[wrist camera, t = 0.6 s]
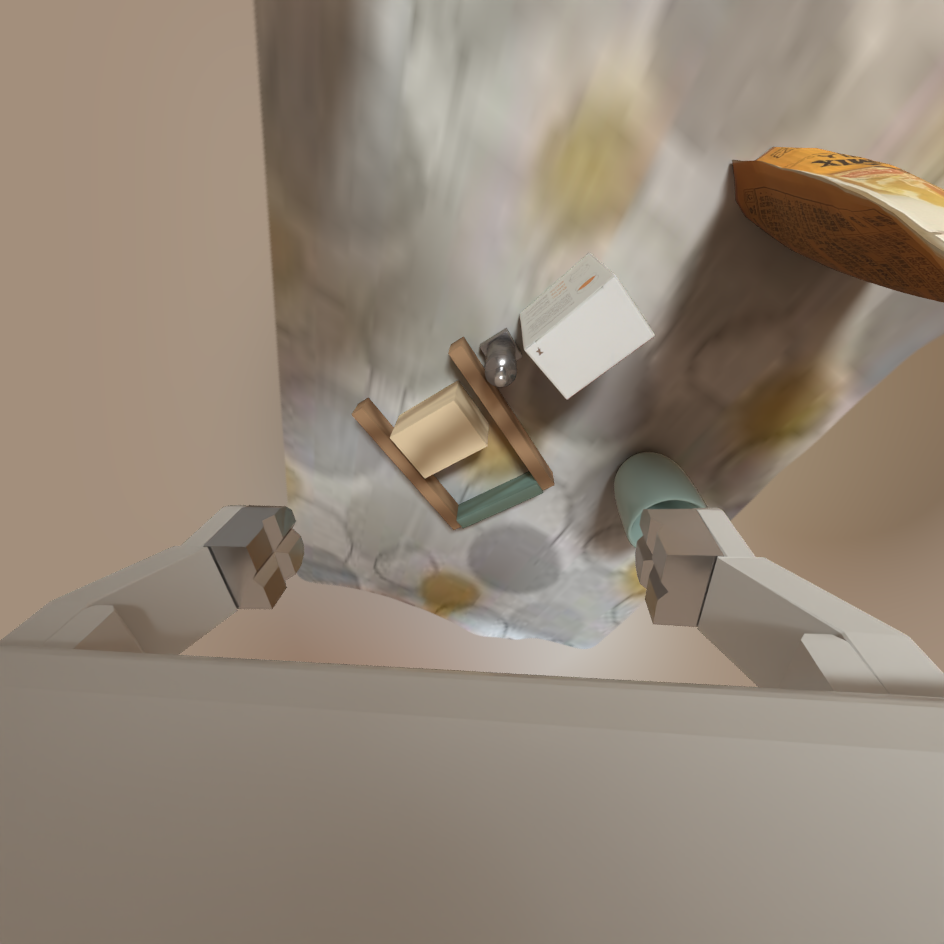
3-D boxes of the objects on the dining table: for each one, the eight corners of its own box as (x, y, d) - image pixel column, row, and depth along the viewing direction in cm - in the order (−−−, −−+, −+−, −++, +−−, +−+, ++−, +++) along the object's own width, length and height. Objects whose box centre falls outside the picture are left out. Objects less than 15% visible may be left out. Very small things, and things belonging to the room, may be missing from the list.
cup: (595, 484, 51) (612, 543, 43) (631, 432, 47) (658, 487, 39) (651, 504, 52) (678, 565, 44) (692, 455, 48) (730, 513, 40)
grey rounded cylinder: (480, 344, 42) (475, 375, 36) (506, 327, 41) (506, 357, 35) (496, 368, 44) (494, 403, 37) (521, 353, 42) (524, 387, 36)
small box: (553, 356, 42) (565, 403, 34) (517, 312, 40) (521, 351, 32) (624, 300, 39) (658, 337, 30) (590, 249, 37) (616, 273, 28)
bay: (358, 404, 47) (350, 416, 44) (463, 336, 42) (460, 347, 39) (455, 516, 56) (453, 532, 53) (552, 472, 51) (554, 487, 48)
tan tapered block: (399, 414, 48) (389, 437, 44) (458, 379, 45) (453, 400, 41) (431, 453, 50) (424, 478, 46) (488, 422, 47) (487, 446, 43)
